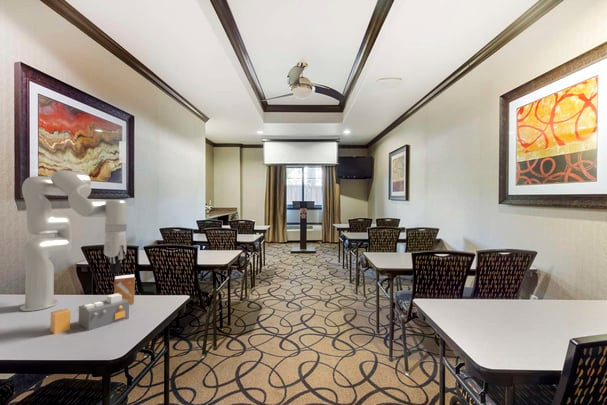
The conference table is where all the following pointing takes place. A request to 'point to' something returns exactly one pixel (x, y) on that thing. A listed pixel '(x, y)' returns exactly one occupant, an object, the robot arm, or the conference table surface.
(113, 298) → the tagged breaker
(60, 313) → the cap
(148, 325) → the conference table surface
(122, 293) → the small box
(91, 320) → the box
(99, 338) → the conference table surface
